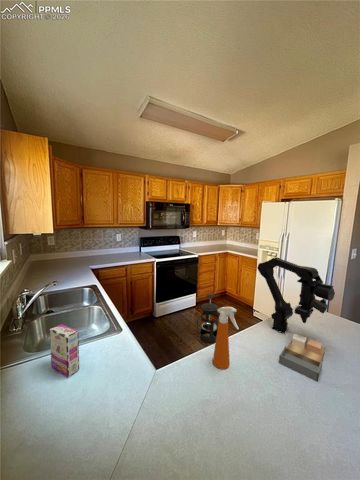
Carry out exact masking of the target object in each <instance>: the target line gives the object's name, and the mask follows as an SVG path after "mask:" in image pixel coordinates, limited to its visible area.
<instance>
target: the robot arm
mask: <svg viewBox="0 0 360 480" xmlns="http://www.w3.org/2000/svg"><path fill="white" fill-rule="evenodd" d="M276 267H279V268H281V269H284V270H286V271H289V272H291V273H294V274H296V276H298V277H299V279H297V281H296V282H298V283H301V285H300V286H301V287H300V293H299V302H298V306H296V307H295V308H294V309H293V308H292V305H291V303H290V302H286V301H285V299H284V297H283V294H282V292H281V289H280V288H279V285H278V283H277V281H276V278H275V276H274V273H275V270H274V268H276ZM257 270H258V272H259V275H261V277H263V278H264V279H265V281H266V284H267V287H268V289H269V291H270V294H271V297H272V299H273V301H274V313H272V314H271V315H270V316H271V318H272V319H273V323H272V327H271V330H275V331H277V332H280V333H281V334H285V333H286V332H287V331H288V325H289V322H288V320H289V319H290V318H291V317H292V316H293V314H296V315H299V317H300V319H301V321H302V323H303V324H306V323H307V321H308V318H310V317H311V315H312V314H313V312H314V310H316V311H318V312H319V313H321V314H325V313H326V311H327V309H328V308H329V305H328V304H327V301H328V302H331V301H333V299H334V297H335V293H336V292H335V290H334V286H333V285H331V284H327V283H324V281H323V280H322V278H321V276H320V275H319V271H318V269H317V268H315V267H311V266H304V265H298V264H296V263H293V262H290V261H287V260H285V259H282V258H280V257H272V258H271V259H269V260H267V261H264V262H260V263H258V265H257ZM317 297H318V298H319V299H317ZM293 310H294V311H293Z"/></svg>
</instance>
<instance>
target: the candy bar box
mask: <svg viewBox="0 0 360 480" xmlns="http://www.w3.org/2000/svg"><path fill="white" fill-rule="evenodd" d="M49 336H50V337H49V341H50V363H51V368H52V369H53V370H54V371H57V372H58V373H59V374H61V375H63V376H65V377H67V378H68V379H69V378H70V377H71V376H73V375H74V374H76V373H77V372H79V371H80V351H79V349H80V348H79V347H80V345H79V344H80V343H79V342H80V341H79V340H80V339H79V330H76V329H74V328H72V327H70V326H67V325H65V324H62V323H60V324H59V325H56V326H54V327H52V328H50V329H49Z"/></svg>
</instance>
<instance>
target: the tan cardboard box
mask: <svg viewBox="0 0 360 480" xmlns="http://www.w3.org/2000/svg"><path fill="white" fill-rule="evenodd" d="M307 342H308V343H307V350H308V351H311V352H313V353H316V354H318V355H320V353H321V349H322V347H323V343H322V342H319V341H316V340H313V339H311V338H309V339H308V340H307Z"/></svg>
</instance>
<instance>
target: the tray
mask: <svg viewBox="0 0 360 480" xmlns="http://www.w3.org/2000/svg"><path fill="white" fill-rule="evenodd" d="M287 347H288V345H284V347H283V349H282V351H281V353H280V354H279V358H278V364H281V365H283V366H285V367H287V368H289V369H291V370H293V371H295V372H297V373H299V374H301V375H303V376H305V377H307V378H310V379H312V380H314V381H315V382H319V379H320V375H321V372H322V368H323V360H322V361H321V362H320V365H319V367H318V366H316V365H313V364H311V363H309V362H307V361H304V360H302V359H300V358H297V357H295V356H293V355H290V354H288V353H286V348H287Z"/></svg>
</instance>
